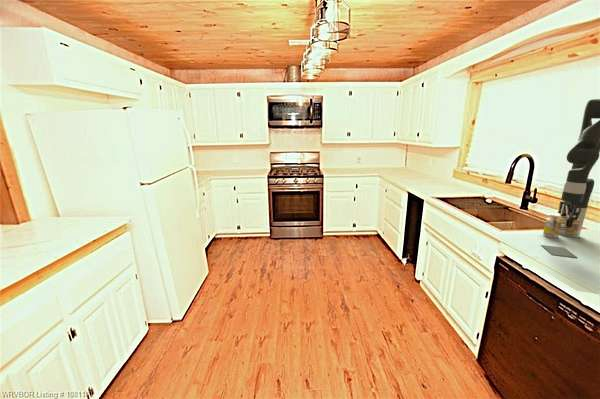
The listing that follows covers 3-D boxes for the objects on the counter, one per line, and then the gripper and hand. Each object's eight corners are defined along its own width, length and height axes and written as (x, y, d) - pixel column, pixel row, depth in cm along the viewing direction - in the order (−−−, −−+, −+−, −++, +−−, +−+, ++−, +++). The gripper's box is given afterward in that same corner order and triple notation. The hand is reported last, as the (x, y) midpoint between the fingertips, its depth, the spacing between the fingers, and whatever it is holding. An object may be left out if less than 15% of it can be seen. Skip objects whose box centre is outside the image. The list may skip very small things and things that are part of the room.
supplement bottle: (550, 233, 168) (555, 212, 165) (561, 238, 162) (566, 216, 159) (539, 233, 168) (544, 212, 165) (549, 238, 162) (554, 216, 159)
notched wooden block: (550, 230, 146) (554, 215, 144) (570, 232, 144) (574, 217, 142) (555, 234, 141) (559, 218, 139) (576, 236, 139) (580, 220, 137)
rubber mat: (540, 245, 152) (541, 244, 152) (564, 248, 149) (564, 247, 149) (551, 255, 141) (552, 254, 141) (577, 258, 138) (577, 257, 138)
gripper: (592, 195, 129) (583, 231, 134) (575, 188, 143) (566, 221, 147) (572, 193, 132) (563, 229, 136) (556, 187, 145) (548, 219, 149)
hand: (565, 225), depth 141 cm, fingers closed on notched wooden block, 5 cm apart
